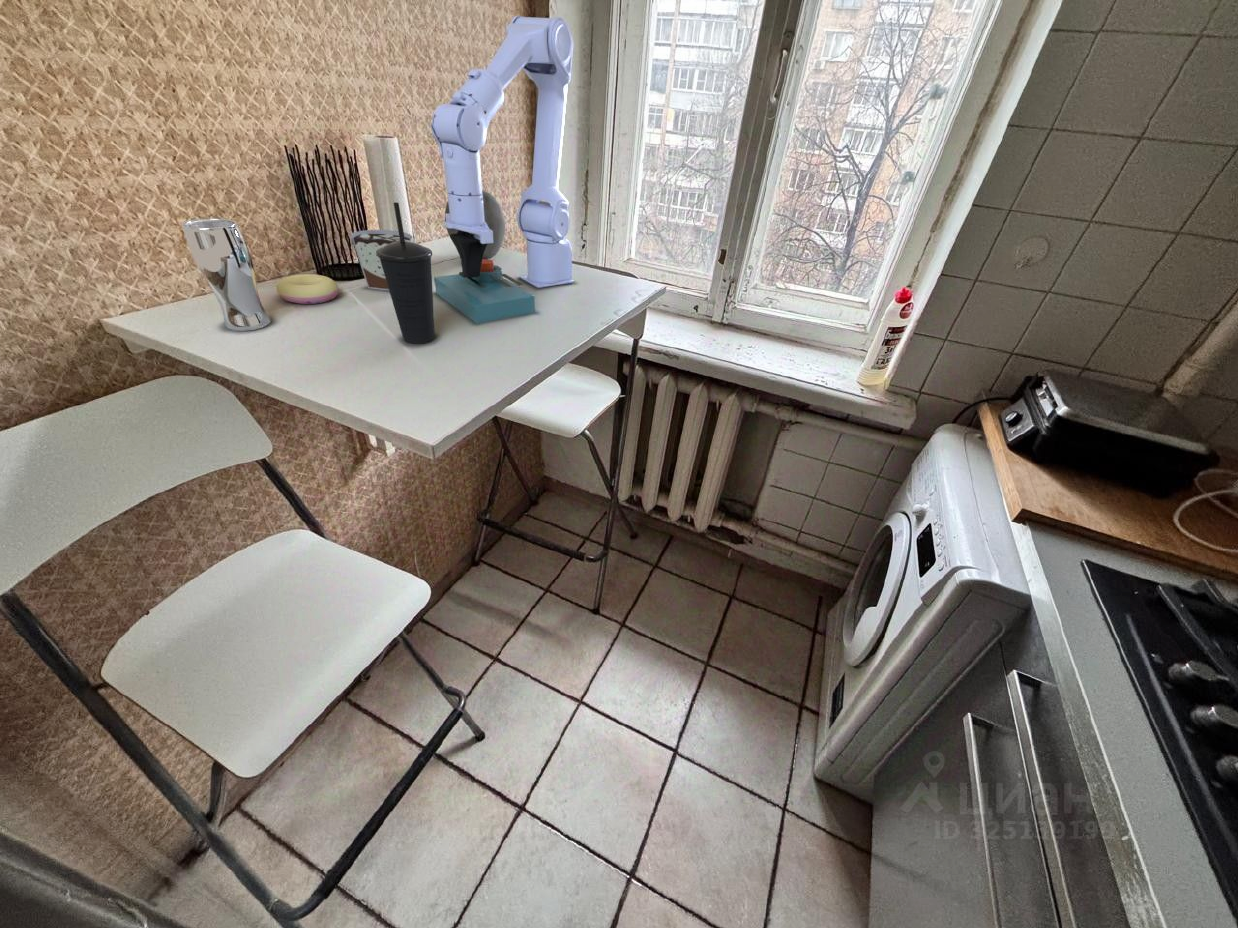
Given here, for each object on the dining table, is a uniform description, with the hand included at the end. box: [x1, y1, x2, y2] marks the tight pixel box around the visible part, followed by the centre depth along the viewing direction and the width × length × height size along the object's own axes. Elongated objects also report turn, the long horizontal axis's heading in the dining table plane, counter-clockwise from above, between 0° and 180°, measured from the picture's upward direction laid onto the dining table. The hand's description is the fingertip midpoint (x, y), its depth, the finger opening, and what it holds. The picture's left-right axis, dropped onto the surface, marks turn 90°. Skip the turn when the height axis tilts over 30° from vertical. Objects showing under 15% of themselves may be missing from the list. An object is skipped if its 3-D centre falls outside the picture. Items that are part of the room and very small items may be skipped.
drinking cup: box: [376, 202, 436, 346], centre depth 74 cm, size 8×8×20 cm
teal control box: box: [433, 264, 536, 324], centre depth 94 cm, size 12×18×5 cm
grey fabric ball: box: [444, 190, 506, 260], centre depth 115 cm, size 14×14×15 cm
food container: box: [349, 229, 416, 291], centre depth 96 cm, size 12×6×10 cm, turn 85°
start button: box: [481, 259, 495, 272], centre depth 96 cm, size 3×3×2 cm
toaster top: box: [454, 273, 524, 287], centre depth 91 cm, size 9×10×1 cm
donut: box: [275, 273, 339, 305], centre depth 89 cm, size 10×5×9 cm
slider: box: [458, 261, 467, 278], centre depth 90 cm, size 3×2×3 cm
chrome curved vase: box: [180, 218, 271, 332], centre depth 74 cm, size 7×7×15 cm
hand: (473, 276), depth 90 cm, fingers closed
